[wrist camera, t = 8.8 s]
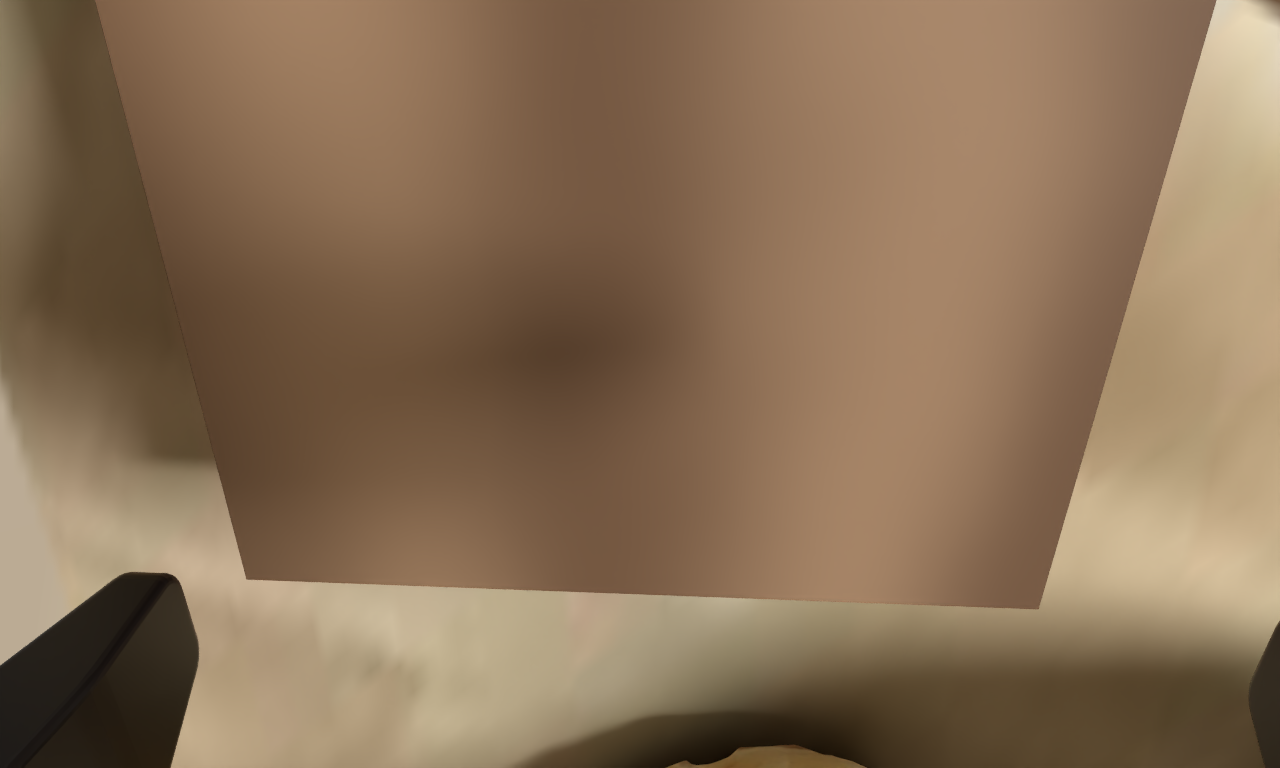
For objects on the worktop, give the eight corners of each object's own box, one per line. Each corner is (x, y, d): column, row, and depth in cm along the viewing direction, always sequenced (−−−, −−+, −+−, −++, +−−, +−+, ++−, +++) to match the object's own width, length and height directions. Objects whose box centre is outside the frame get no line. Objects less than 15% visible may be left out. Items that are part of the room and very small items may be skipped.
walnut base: (1196, -350, 13) (1313, -331, 10) (996, 480, 20) (1038, 609, 17) (133, -363, 13) (4, -346, 11) (301, 456, 20) (246, 579, 18)
